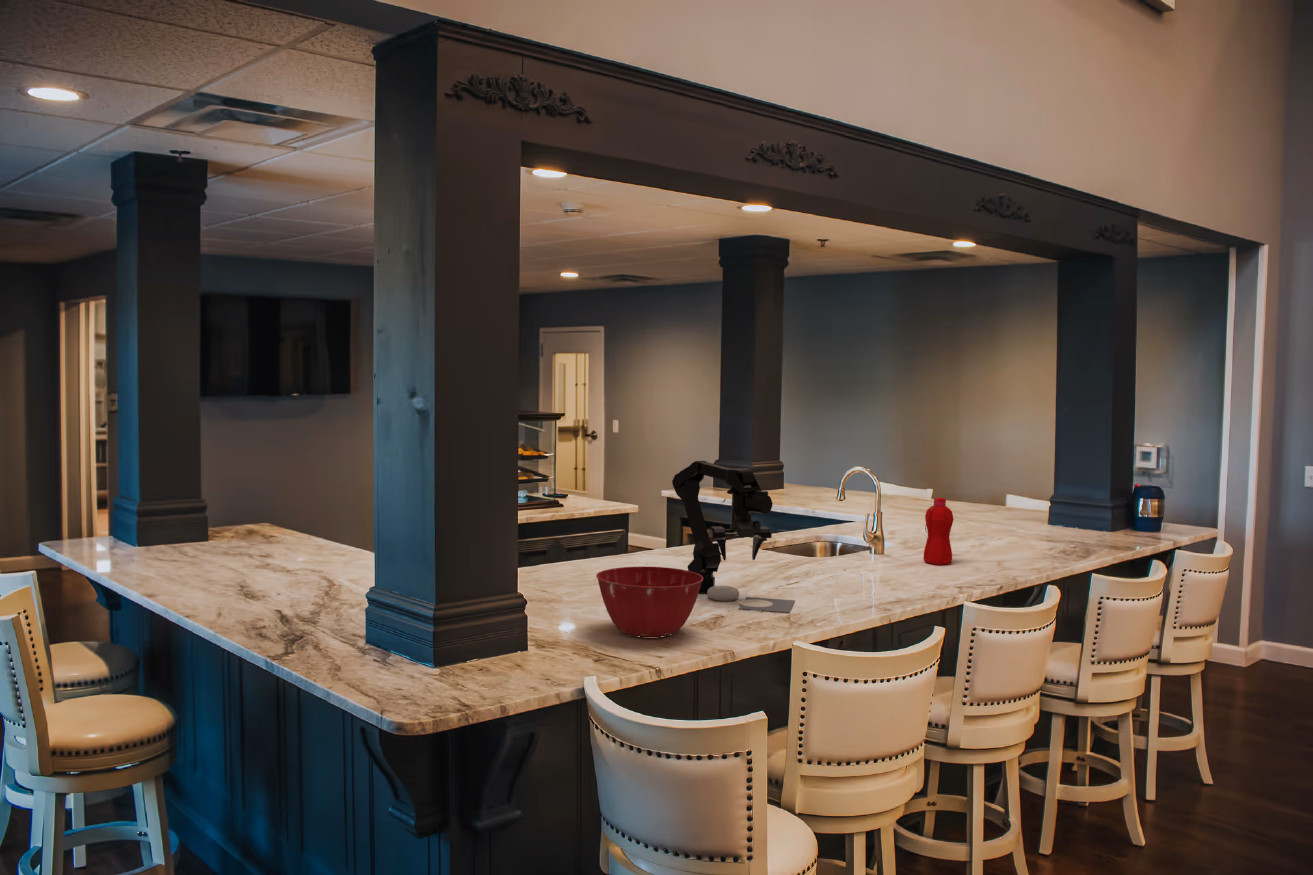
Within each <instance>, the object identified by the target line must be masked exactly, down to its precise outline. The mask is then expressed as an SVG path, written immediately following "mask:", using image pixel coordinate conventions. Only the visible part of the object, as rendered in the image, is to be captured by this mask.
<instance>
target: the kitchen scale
mask: <svg viewBox="0 0 1313 875" xmlns="http://www.w3.org/2000/svg"><path fill="white" fill-rule="evenodd" d="M795 602H796V600H795V599H794V600H793V599H781V598H768V597H767V598H766V597H754V596H753V597H751V596H746V597H745V599H743V600H740V601H739V603H738V604H740V606H739V608H738V610H739V609H742V610H741V611H750V610H761V611H760V612H763V611H770V612H769V613H776V612H781V613H780V614H791V612H790V611H792V609H793V607H794V605H795Z"/></svg>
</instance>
